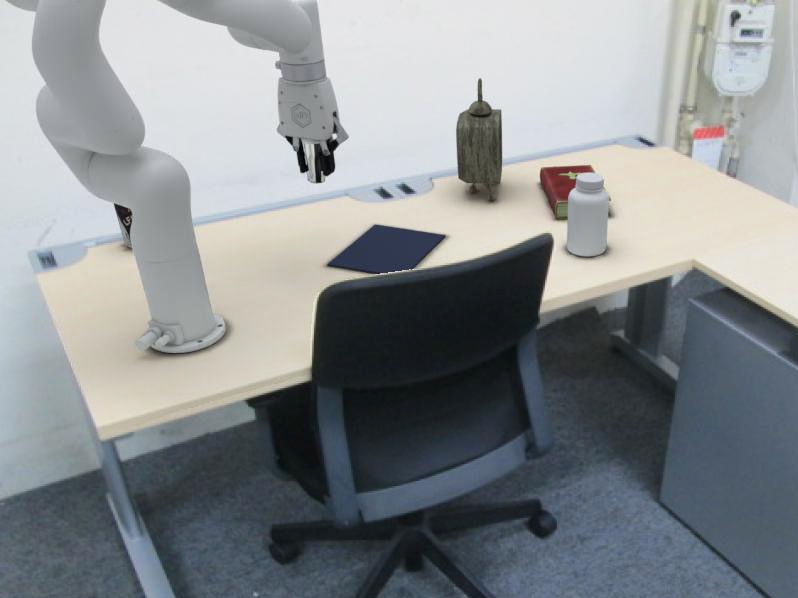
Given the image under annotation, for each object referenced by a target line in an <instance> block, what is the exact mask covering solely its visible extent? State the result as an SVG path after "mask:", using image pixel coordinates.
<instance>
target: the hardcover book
mask: <svg viewBox="0 0 798 598" xmlns="http://www.w3.org/2000/svg"><path fill="white" fill-rule="evenodd" d="M581 173H596V171H595V169H594V168H593V166H592V165H591V164H579V165H559V166H558V165H557V166H542V167H541V168H540V169H539V182H540V184H541V187H542V189H543V191H544V194H545V196H546V198H547V200H548V202H549V205H550V207H551V209H552V212H553V214H554V217H555V219H556V220H559V221H560V220H568V196H569V193H570V192H571V190H572V189H574V188H576V177H577V175H579V174H581ZM603 189H604V190H606V188H605V186H604V185H603ZM611 201H612V198H611V197H610V196H609V202H611ZM609 217H611V214H610V212H609V211H608V218H609Z"/></svg>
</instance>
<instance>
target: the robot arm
mask: <svg viewBox="0 0 798 598" xmlns="http://www.w3.org/2000/svg"><path fill="white" fill-rule="evenodd" d="M5 1H6V2H7V3H8V4H10V5H11V6H13V7H15V8H18V9H20V10H24V11H28V12H33V13H35V16H34V21H33V28H32V35H31V53H32V59H33V61H34V64H35V67H36V69H37V70H38V73H39V74H40V76H41V78H42V79H43V81H44V83H45V84H44V85H43V86H42V87H41V89H40V90H39V92H38V94H37V97H36V100H35V115H36V119H37V123H38V125H39V127H40V129H41V131H42V133H43V135H44V136H45V138H46V139H47V140H48V142H49V143H50V145H51V146H52V148H53V149H54V151H56V153H57V155H59V157H60V158H61V160H62V161H63V162H64V164H65V165H66V166H67V167H68V169H69V170H70V172H71V173H72V174H73V175H74V177H75V178H76V179H77V181H78V182H79V183H80V184H81V186H82V187H84V188H85V190H87V192H89V193H90V194H91V195H93V196H95V198H98V199H101V200H103V201H106V202H108V203H111V204H114V203H115V204H118V205H121V206H124V207H126V208H129V209H130V210H131V211H132V224H131V229H130V240H131V245H132V248H131V249H132V253H133V256H134V258H135V263H136V266H137V271H138V273H139V277H140V281H141V284H142V289H143V292H144V295H145V299H146V302H147V306H148V310H149V313H150V317H151V319H149V321H147V324H148V329H147V330H146V333H145V334H144V335H142V336H141V337H139V338H138V339H137V340H135V346H136V348H137V349H138V350H139V351H146V350H147V349H149V348H150V347H151V348H152V349H154V350H155V351H159V352H161V353H166V354H167V353H168V354H184V353H192V352H195V351H199V350H202V349H205V348H207V347H210V346H212V345H213V344H215V343H217V342H219V340H220V339H222V338H223V337H224V335H225V333H226V330H227V326H226V321H225V319H224V318H223V317H222V316H220V315H218V314H217V313H215V312H214V311H213V308H212V304H211V299H210V293H209V290H208V284H207V281H206V276H205V272H204V269H203V263H202V259H201V255H200V250H199V245H198V242H197V237H196V233H195V227H194V223H193V215H192V201H191V199H192V195H191V191H192V189H191V187H192V186H191V180H190V177H189V174H188V171H187V169H186V168H185V167H184V166H183V164H182V162H180V160H178V159H176V158H175V157H173V156H172V155H170V154H168V153H166V152H164V151H161V150H159V149H155V148H152V147H148V146H143V143H144V141H145V137H146V126H145V121H144V119H143V116H142V114H141V112H140V110H139V108H138V107H137V106H136V103H135V102H134V101H133V99H132V98H131V96H130V94H129V93H128V91H127V90H126V88H125V86H124V85H123V84H122V82H121V80H120V78H119V77H118V76H117V74H116V73H115V72H116V71H115V70H114V69H113V67H112V65H111V64H110V62H109V60H108V59H107V57H106V55H105V53H104V50H103V48H102V45H101V41H100V40H101V39H100V28H101V22H102V17H103V14H104V10H105V7H106V5H107V0H5ZM157 2H159V3H161V4H163V5H166V7H167V6H168V7H169V8H171V9H173V10H174V11H177V12H179V13H181V14H183V15H186V16H187V17H190V18H193V19H196V20H199V21H202V22H206V23H210V24H213V25H218V26H223V27H226V29H227V31H228V33H229V35H230V36H231V38H232V39H233V40H234V41H236V42H237V43H238V44H240V45H242V46H244V47H247V48H251V49H257V50H262V51H268V52H274V53H278V55H279V56H278V57H279V60H275V63H274V66H275V69H276V70H279V71H280V73H281V77H278V80H277V81H278V82H277V111H278V121H279V123H278V125H277V127H276V132H277V134H279V135H280V136H281V137H282V138H284V139H285V140H286V142H288V144H290V146H291V147H292V150H293V152H295V153H296V158H297V164H298V168H299V172H300V174H306V173H307V172H306V165H305V159H304V153H303V147H302V142H301V138H305V139H313V140H319V141H320V144H321V147H322V151H323V155H321V162H322V169H323V175H324V176H325V177H329V176H330V175H331V174H333V173H334V172H335V171H336V160H335V151H336V150H337V149H338V147H339V146H340V145H341V144H343V143H344V142H346V141H347V140H349V138H350V137H349V134H348V133H347V131H346V130H345V128H344V127H343V125H342V124H341V119H340V112H339V107H338V102H337V98H336V94H335V90H334V87H333V84H332V81H331V78H330V77H328V76H327V67H326V60H325V53H324V45H323V35H322V29H321V28H322V27H321V20H320V12H319V11H320V10H319V5H318V1H317V0H157ZM334 135H336V137H335V138H334Z"/></svg>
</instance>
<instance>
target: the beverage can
mask: <svg viewBox="0 0 798 598" xmlns="http://www.w3.org/2000/svg"><path fill="white" fill-rule="evenodd" d="M113 207H114V210H115V215H116V218H117V222H118V225H119V229H120V233H121V236H122V240H123V243H124V245H125V246H126V247H129V248H130V249H132V245H131V240H130V229H131V224H132V211H131V210H130V209H129V208H126V207H124V206H121V205H118V204H115V203H113Z"/></svg>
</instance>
